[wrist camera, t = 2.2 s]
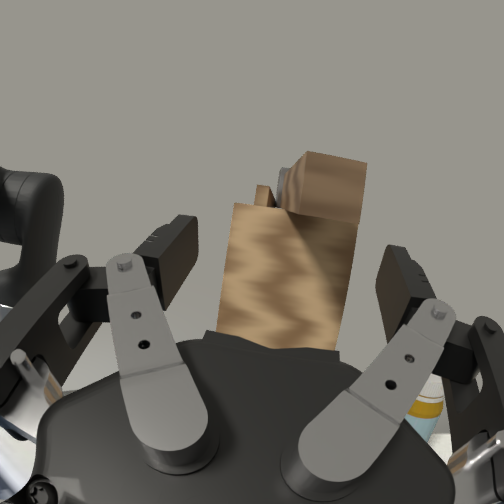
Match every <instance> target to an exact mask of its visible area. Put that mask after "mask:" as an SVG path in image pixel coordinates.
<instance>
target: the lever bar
mask: <svg viewBox="0 0 504 504" xmlns="http://www.w3.org/2000/svg"><path fill="white" fill-rule="evenodd" d="M366 170H367V163H364V162H360V161H356V160H351V159H346V158H342V157H336V156H332V155H326V154H321V153H316V152H310V151H307V152H306V153H305V154H304V155H303V156H302V157H301V158H300V159H299V160H298V161H297V162H296V163H295V164H294V165H293V166H292V167H291V168H283V167H282V168H281V170H280V172H279V179H278V187H277V194H276V201H275V207H277V208H282V209H285V210H287V211H290V212H293V213H296V214H300V215H307V216H313V217H319V218H326V219H332V220H338V221H344V222H350V223H355V224H359V222H360V215H361V208H362V201H363V194H364V186H365V178H366Z"/></svg>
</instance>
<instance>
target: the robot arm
mask: <svg viewBox="0 0 504 504" xmlns="http://www.w3.org/2000/svg"><path fill="white" fill-rule="evenodd" d="M63 206H64V191H63V186H62V183H61V181H60V179H59V178H58V177H57V176H55V175H53V174H48V173H38V172H37V173H36V172H22V171H11V170H6V169H4V168H2V167H0V241H1V242H6V243H10V244H16V245H22V251H21V257H20V261H19V263H18V264H17V265H16V266H14V267H12V268H9V269H5V270H2V271H0V426H1V427H2V428H4V429H5V430H6V431H7V432H8V433H9V434H10V435H11V436H12V437H13V438H15V439H17V440H20V441H26V440H30V441H31V442H33V443H35V444H36V456H35V462H34V467H33V471H32V475H31V477H30V479H29V481H28V482H27V484H26V485H25V486H24V487H23V488H22V489H21V490H20V491H19V492H17V493H16V494H15V495H13V496H12V497H10V498H9V499H7V500H5V501H3V502H1V503H0V504H504V333H503V331H502V329H501V327H500V326H499V325H498V324H497V323H496V322H495V321H494V320H492V319H490V318H488V317H485V316H479V317H477V318H476V319H475V321H474V323H473V324H472V326H471V325H468V324H465V323H462V322H459V321H457V320H456V314H455V312H454V310H453V309H452V308H451V307H450V306H449V305H448V304H446V303H445V302H443V301H441V300H438V299H437V298H436V296H435V294H434V292H433V289H432V287H431V285H430V283H429V281H428V279H427V277H426V275H425V273H424V271H423V269H422V267H421V266H420V265H419V264H418V263H416V261H414V260H411V258H410V256H409V254H408V252H407V250H406V248H405V247H400V246H395V245H388V246H387V247H386V249H385V252H384V256H383V259H382V262H381V265H380V268H379V271H378V275H377V278H376V287H375V288H376V293H377V298H378V302H379V306H380V311H381V315H382V320H383V325H384V330H385V334H386V340H387V345H386V347H385V348H384V349H383V350H382V352H381V353H380V354H379V355H378V356H377V357H376V359H375V360H374V361H373V362H372V363H371V364H370V366H369V367H368V368H367V369H366V370H365V371H364V372H363V373H362V372H361V371H359V370H358V369H356V368H354V367H353V366H351V365H348V364H346V363H343V362H341V361H340V358H339V351H334V350H326V349H318V348H310V347H301V348H280V349H272V348H268V347H265V346H262V345H260V344H257V343H255V342H252V341H249V340H247V339H244V338H242V337H239V336H235V335H229V334H224V333H219V332H214V331H209V330H206V332H205V335H204V337H203V339H194V340H187V341H182V342H178V343H175V341H174V339H173V336H172V334H171V331H170V328H169V326H168V323H167V321H166V318H165V315H164V312H163V311H166V310H167V308H168V306H169V305H170V303H171V301H172V300H173V298H174V296H175V295H176V293H177V292H178V290H179V289H180V287H181V285H182V284H183V282H184V281H185V279H186V277H187V276H188V274H189V273H190V271H191V269H192V268H193V266H194V265H195V263H196V261H197V257H198V220H197V217H195V216H187V215H178V216H177V217H176V218H175V219H174V220H173V221H172V222H171V223H170V224H165V225H163V226H161V227H159V228H157V229H156V230H155V231H154V232H153V233H152V234H151V236H149V237H148V238H147V239H146V241H144V242H143V243H142V244H141V245H140V246H139V247H138V248H137V249H136V250H135V251H134V252H133V253H125V254H120V255H117V256H115V257H113V258H112V259H110V260H109V261H108V262H107V264H106V267H89V264H88V260H87V258H86V257H85V256H83V255H70V256H67V257H65V258H63V259H61V260H59V261H58V262H57V263H56V257H57V248H58V241H59V234H60V228H61V221H62V216H63ZM66 304H67V306H68V308H69V311H70V312H69V313H68V314H67V316H66V317H65V318H64V319H63V321H62V322H61V324H60V325H59V324H58V316H59V313H60V311H61V310H62V309H63V307H64V306H65V305H66ZM102 322H110V323H111V329H112V336H113V342H114V346H115V352H116V358H117V363H118V368H119V371H118V372H115V373H113V374H111V375H109V376H107V377H105V378H103V379H101V380H99V381H97V382H95V383H92V384H91V385H88V386H86V387H84V388H82V389H79V390H77V391H75V392H73V393H71V394H69V395H66V396H64V397H62V388H61V387H62V386H63V384H64V382H65V381H66V379H67V377H68V375H69V374H70V372H71V371H72V369H73V368H74V366H75V364H76V363H77V361H78V360H79V358H80V356H81V355H82V353H83V352H84V350H85V348H86V347H87V345H88V344H89V342H90V341H91V339H92V338H93V336H94V335H95V333H96V332H97V330H98V328H99V327H100V326H101V324H102ZM479 372H481V375H482V379H483V386H482V390H481V392H480V393H479V389H478V386H477V382H476V379H475V377H476V376H477V375H478V373H479ZM431 374H434V375H437V376H440V377H441V380H442V385H443V390H444V395H445V400H446V407H447V413H448V419H449V426H450V434H451V442H452V452H453V454H452V455H451V457H450V458H449V460H448V464H447V465H446V464H445V462H444V461H443V460H442V459H441V458H440V457H439V456H438V455H437V453H436V452H435V451H434V450H433V449H432V448H431V447H430V446H429V445H428V443H427V442H426V441H425V440H424V439H423V438H422V437H421V436H420V435H419V433H418V432H417V431H416V430H415V429H414V428H413V427H412V426H411V424H410V423H409V422H408V421H407V420H406V419H405V418H404V417H405V416H406V414H407V413H408V411H409V410H410V408H411V407H412V405H413V403H414V402H415V400H416V399H417V397H418V395H419V394H420V392H421V390H422V389H423V387H424V385H425V383H426V382H427V380H428V378H429V376H430V375H431Z"/></svg>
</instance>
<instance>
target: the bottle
mask: <svg viewBox="0 0 504 504" xmlns="http://www.w3.org/2000/svg"><path fill="white" fill-rule="evenodd" d="M444 398H445V395H444V390H443V385H442V380H441V377H440V376H437V375H434V374H431V375H430V376H429V378H428V380H427V382H426V383H425V385H424V387H423V389H422V390H421V392H420V394H419V395H418V397H417V399H416V400H415V402H414V403H413V405H412V407H411V408H410V410H409V411H408V413H407V414H406V416H405V417H404V418H405V419H406V420H407V421H408V422H409V423H410V424H411V426H412V427H413V428H414V429H415V430H416V431H417V432H418V433H419V435H420V436H421V437H422V438H423V439H424V440H425V441H426V442H428V440H429V438H430V436H431V434H432V432H433V429H434V427H435V425H436V423H437V421H438V419H439V416H440V414H441V412H442V409H443V399H444Z"/></svg>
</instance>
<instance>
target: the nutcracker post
mask: <svg viewBox="0 0 504 504" xmlns="http://www.w3.org/2000/svg"><path fill="white" fill-rule="evenodd" d="M357 230H358V224H355V223H350V222H344V221H338V220H332V219H326V218H319V217H313V216H307V215H300V214H296V213H293V212H290V211H287V210H284V209H277V208H275V198H274V196H273V194H272V191H271V189H270V187H269V186H262V185H257V189H256V195H255V201H254V205H249V204H241V203H234V208H233V215H232V221H231V228H230V235H229V242H228V249H227V256H226V263H225V269H224V276H223V283H222V291H221V298H220V305H219V313H218V320H217V328H216V332H219V333H224V334H229V335H235V336H239V337H242V338H244V339H247V340H249V341H252V342H255V343H257V344H260V345H262V346H265V347H268V348H272V349H280V348H301V347H310V348H318V349H326V350H334V351H335V346H336V342H337V338H338V334H339V329H340V325H341V320H342V316H343V311H344V306H345V301H346V296H347V291H348V285H349V280H350V274H351V269H352V263H353V257H354V250H355V243H356V237H357Z"/></svg>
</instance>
